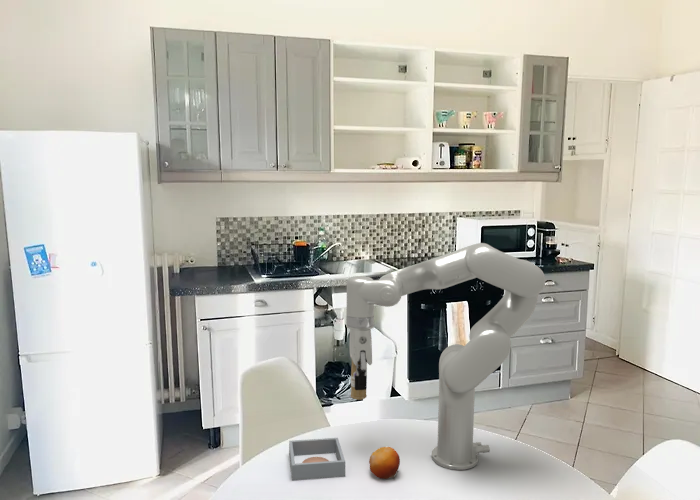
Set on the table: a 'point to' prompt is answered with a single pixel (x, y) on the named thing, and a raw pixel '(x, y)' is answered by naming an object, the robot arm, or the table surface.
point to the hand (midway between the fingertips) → (358, 385)
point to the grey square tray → (316, 459)
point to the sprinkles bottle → (354, 393)
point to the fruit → (384, 463)
